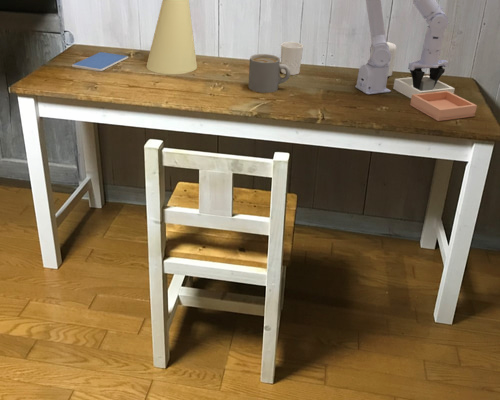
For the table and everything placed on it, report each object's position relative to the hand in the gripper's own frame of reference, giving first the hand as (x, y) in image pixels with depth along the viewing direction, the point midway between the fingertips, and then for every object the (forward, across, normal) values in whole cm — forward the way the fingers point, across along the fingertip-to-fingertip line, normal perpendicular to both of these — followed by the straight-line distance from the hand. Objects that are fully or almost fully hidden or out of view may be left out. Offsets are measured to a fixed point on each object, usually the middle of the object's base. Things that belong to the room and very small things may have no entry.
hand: (423, 89), depth 191 cm
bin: (+2, -4, -15) cm, 16 cm away
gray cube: (+1, 0, 0) cm, 1 cm away
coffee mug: (+2, -49, +19) cm, 53 cm away
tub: (+2, 0, 0) cm, 2 cm away
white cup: (+2, -34, +33) cm, 47 cm away
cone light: (+2, -72, +53) cm, 89 cm away
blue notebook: (+2, -97, +62) cm, 115 cm away
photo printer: (+2, -4, +20) cm, 20 cm away
